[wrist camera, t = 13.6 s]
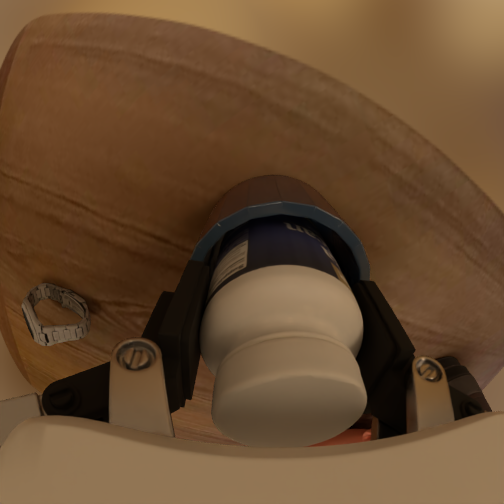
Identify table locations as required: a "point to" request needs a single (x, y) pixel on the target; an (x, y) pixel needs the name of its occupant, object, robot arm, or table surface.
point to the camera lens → (463, 380)
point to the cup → (287, 203)
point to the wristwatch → (55, 332)
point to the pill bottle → (281, 337)
